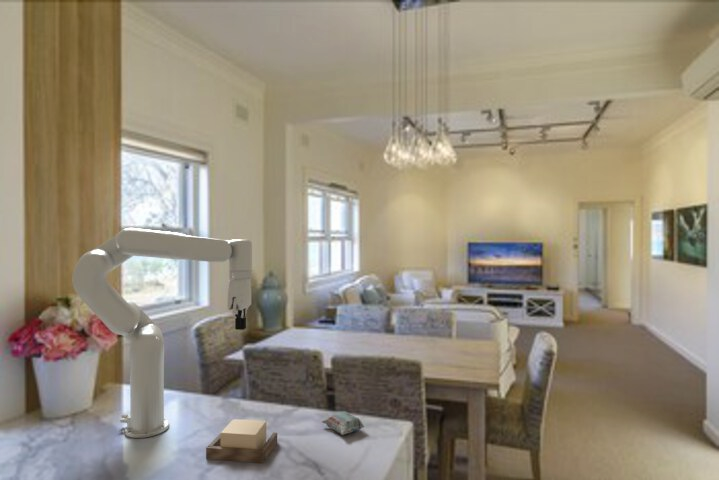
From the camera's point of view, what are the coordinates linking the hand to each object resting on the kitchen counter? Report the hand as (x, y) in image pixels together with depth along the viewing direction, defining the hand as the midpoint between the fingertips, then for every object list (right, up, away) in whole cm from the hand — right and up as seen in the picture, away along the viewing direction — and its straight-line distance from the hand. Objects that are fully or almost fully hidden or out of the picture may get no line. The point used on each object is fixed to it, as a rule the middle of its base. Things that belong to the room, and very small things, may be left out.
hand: (240, 329), depth 151 cm
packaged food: (+35, -30, -12) cm, 48 cm away
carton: (+8, -30, -25) cm, 40 cm away
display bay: (+7, -30, -25) cm, 39 cm away
